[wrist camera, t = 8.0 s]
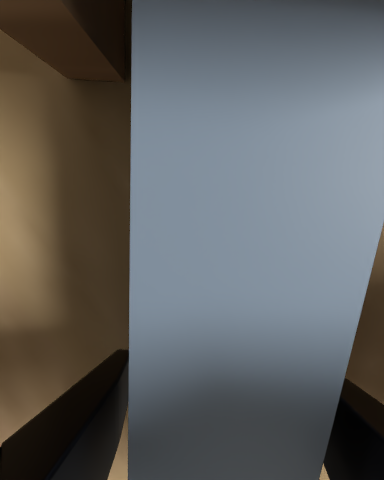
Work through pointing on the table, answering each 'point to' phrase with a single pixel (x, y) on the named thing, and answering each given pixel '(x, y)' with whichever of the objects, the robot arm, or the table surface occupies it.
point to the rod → (249, 229)
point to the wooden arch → (71, 35)
